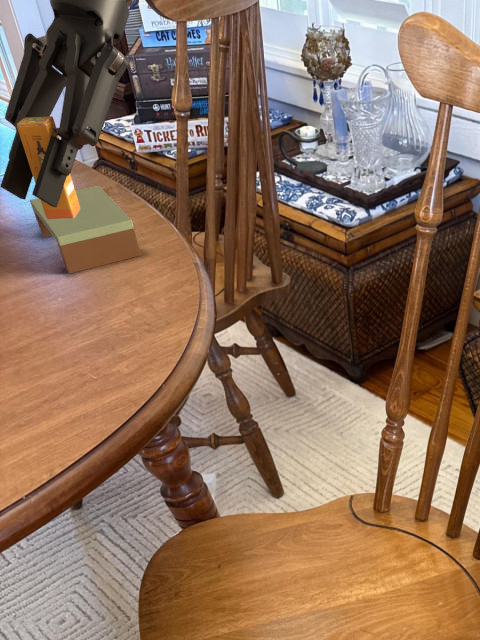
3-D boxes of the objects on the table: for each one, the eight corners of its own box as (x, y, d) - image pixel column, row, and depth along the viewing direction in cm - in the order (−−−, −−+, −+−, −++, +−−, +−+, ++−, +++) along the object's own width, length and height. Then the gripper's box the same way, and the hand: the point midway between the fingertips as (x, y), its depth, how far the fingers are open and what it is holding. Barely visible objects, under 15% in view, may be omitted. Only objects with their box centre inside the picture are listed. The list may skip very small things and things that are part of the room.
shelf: (41, 234, 115) (29, 199, 112) (108, 218, 119) (98, 185, 116) (69, 273, 105) (56, 237, 102) (141, 255, 109) (131, 219, 106)
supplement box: (82, 207, 91) (55, 114, 84) (74, 219, 89) (46, 124, 82) (54, 208, 91) (24, 114, 84) (45, 220, 88) (13, 125, 82)
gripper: (179, 19, 84) (110, 226, 85) (65, 7, 91) (3, 200, 92) (131, -33, 77) (57, 193, 78) (12, -42, 84) (-55, 167, 85)
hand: (28, 196), depth 85 cm, fingers closed on supplement box, 4 cm apart
